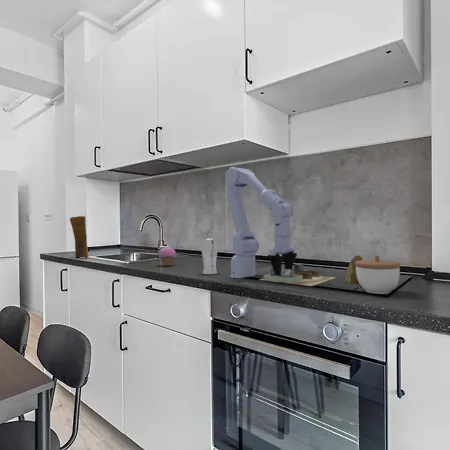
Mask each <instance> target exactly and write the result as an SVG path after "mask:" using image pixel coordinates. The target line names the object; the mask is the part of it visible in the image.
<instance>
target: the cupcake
mask: <svg viewBox="0 0 450 450" xmlns="http://www.w3.org/2000/svg"><path fill="white" fill-rule="evenodd" d="M176 255H177V253H176V250H175V249H174V248H173V247H170V246H165V247H162V248H161V249H160V250H158V257H160V260H161V263H162V266H163V267H166V266H169V267H172V266H173V262H174V257H175V256H176Z"/></svg>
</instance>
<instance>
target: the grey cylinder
mask: <svg viewBox="0 0 450 450" xmlns="http://www.w3.org/2000/svg"><path fill="white" fill-rule="evenodd" d="M292 273H293V269H292V270H290V269H285V268H281V275H275V274H274V271H273V267H272V268H271V269H270V273H269V274H271V276H278V277H288V278H292Z"/></svg>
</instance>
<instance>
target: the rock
mask: <svg viewBox="0 0 450 450" xmlns="http://www.w3.org/2000/svg"><path fill="white" fill-rule="evenodd" d="M360 260H364V258H363V257H362V256H361V255H359V254H358V255H355V256H354V257H353V258H352V259H351V260H350V262H349V265H348V267H347V269H346V272H345V281H346V282H348V283H349V284H351V285H357V284H358V283H359V282H358V280H357V275H356V265H355V262H356V261H360Z"/></svg>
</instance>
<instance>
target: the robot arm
mask: <svg viewBox="0 0 450 450" xmlns="http://www.w3.org/2000/svg"><path fill="white" fill-rule="evenodd" d="M224 178H225V182H226V194H227V199H228V203H229V204H228V205H229V208H230V212H231V215H232V216H231V217H232V220H233V221H232V222H233V224H234V229H235V234H234V235H233V236H232V250H233V252H234V255H233V256H232V257H231V260H230V276H229V278H231V279H232V278H233V279H234V278H235V279H243V278H248V277H255V276H256V256H257V252H258V251H259V248H260V244H259V242H258V240H257V238H256V235H255V234H254V232H253V231H251V230H250V227H249V222H248V218H247V215H246V209H245V206H244V201H243V196H242V192H243V191H244V190H245V189H246V188H247V187H250V188H251V189H252V190H253V191H254V192H256V194H258V195H259V199H260V201H261V203H262V204H263V205H264V206H265V207H266V208H267V209H268V210H270V211H269V212H270V215H271V218H272V219H273V224H274V225H273V226H274V227H273V228H274V230H273V231H274V232H273V233H274V235H273V236H274V248H271V249H269V254H267V258H268V261H269V262H270V264H271V267H272V268H273V271H274V274H275V275H281V269H282V265H284V269H290V270H292V271H293V268H294V262H295V260H296V258H297V256H298V253H297V252H296V247H295V246H291V218H292V216H293V214H294V208H293V206H292V205H291V203H289V202H284V201H285V200H284V199H283V198H281V197H280V196H279V195H277V191H276V190H274V189H271V188H270V189H268V188H266V187H265V185H263V184H262V183H261V181H260V180H259V179H258V178H257V177H256V176H255V173H254V172H252V171H251V170H250V169H249V168H241V167H240V168H239V167H235V166H231V167H229V168H228V169H227V172H226V173H225V175H224Z"/></svg>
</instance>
